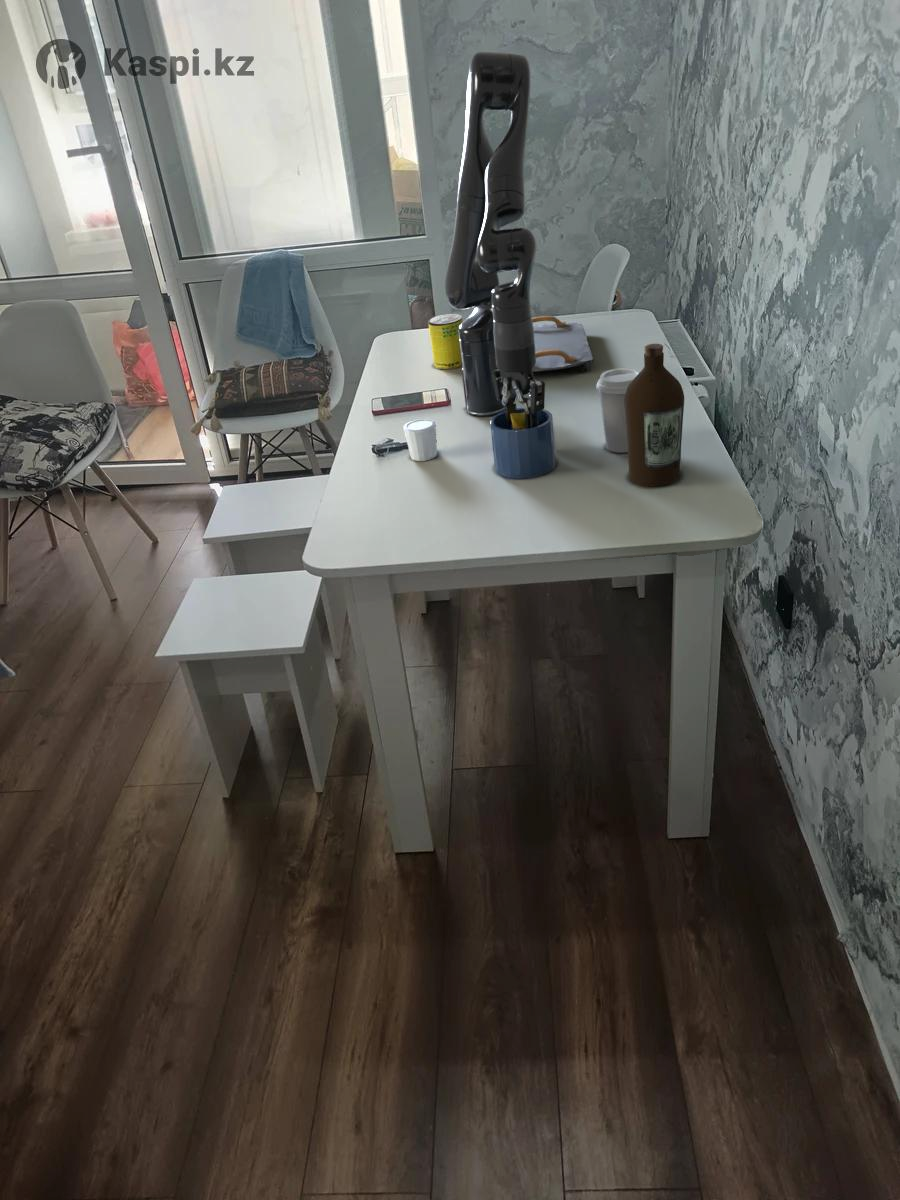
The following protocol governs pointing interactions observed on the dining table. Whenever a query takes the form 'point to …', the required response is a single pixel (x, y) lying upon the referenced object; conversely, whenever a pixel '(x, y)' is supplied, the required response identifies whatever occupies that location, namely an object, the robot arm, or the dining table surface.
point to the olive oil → (654, 422)
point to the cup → (523, 447)
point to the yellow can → (445, 341)
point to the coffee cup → (615, 406)
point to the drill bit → (518, 421)
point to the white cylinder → (421, 439)
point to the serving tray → (560, 345)
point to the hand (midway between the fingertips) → (521, 426)
